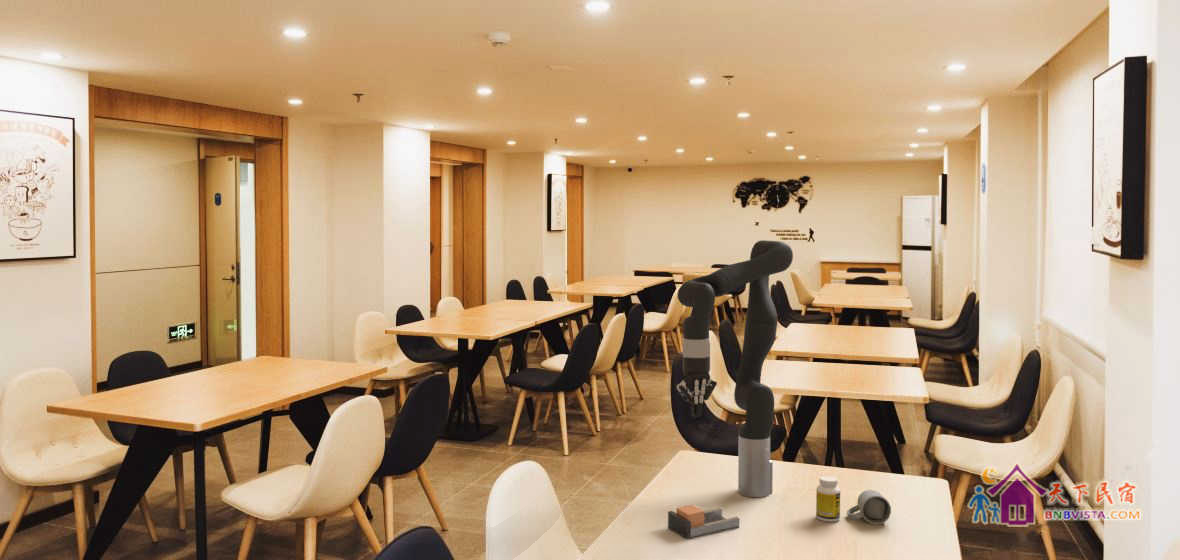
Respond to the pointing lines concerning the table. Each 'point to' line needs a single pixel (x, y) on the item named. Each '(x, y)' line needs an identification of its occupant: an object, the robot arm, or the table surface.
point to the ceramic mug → (871, 508)
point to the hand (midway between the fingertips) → (696, 416)
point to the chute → (710, 526)
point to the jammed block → (691, 514)
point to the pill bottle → (828, 500)
